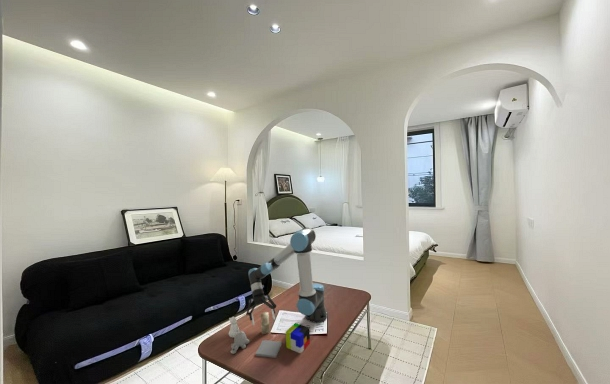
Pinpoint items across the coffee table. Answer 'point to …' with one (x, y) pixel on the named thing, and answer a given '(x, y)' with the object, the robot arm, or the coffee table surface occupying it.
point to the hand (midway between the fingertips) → (264, 322)
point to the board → (268, 348)
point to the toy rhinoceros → (239, 342)
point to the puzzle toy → (297, 337)
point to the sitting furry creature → (234, 327)
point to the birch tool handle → (265, 322)
